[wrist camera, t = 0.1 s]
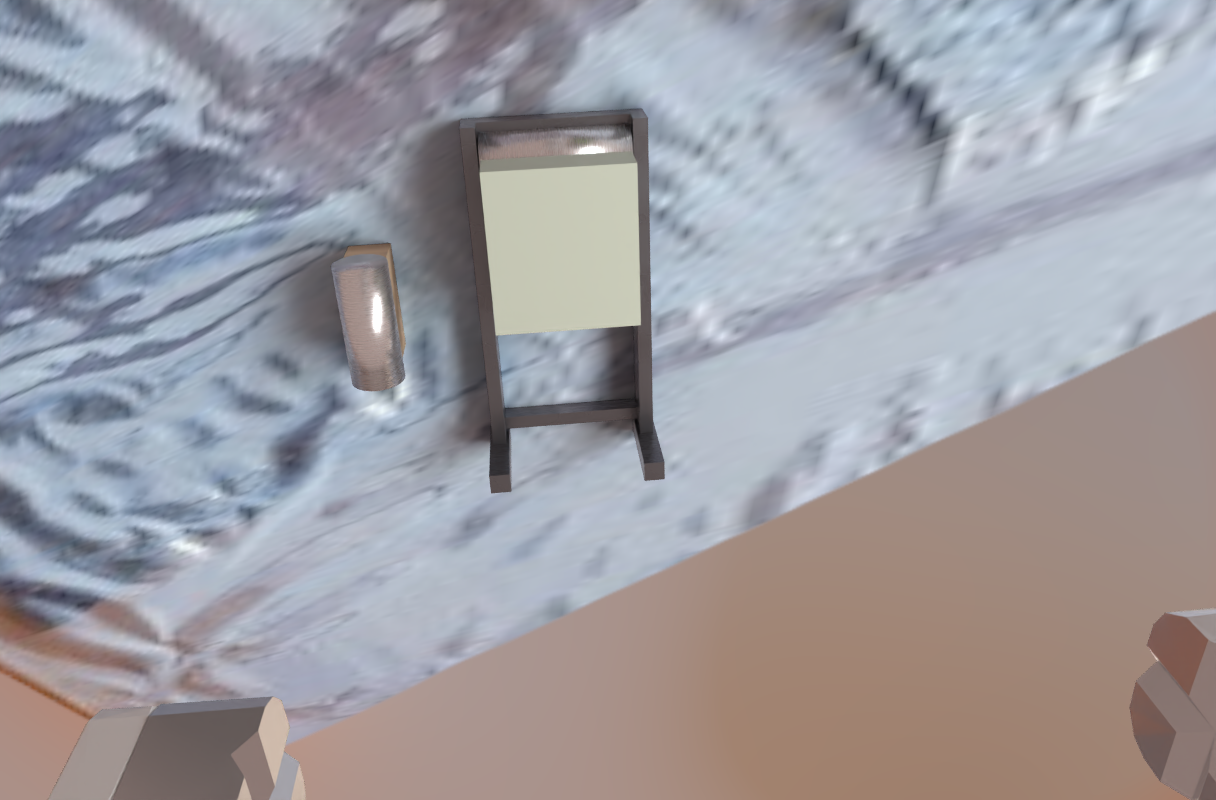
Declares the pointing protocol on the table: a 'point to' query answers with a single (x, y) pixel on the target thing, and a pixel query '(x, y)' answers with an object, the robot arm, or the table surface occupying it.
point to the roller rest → (387, 252)
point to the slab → (562, 241)
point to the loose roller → (368, 321)
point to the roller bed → (485, 144)
